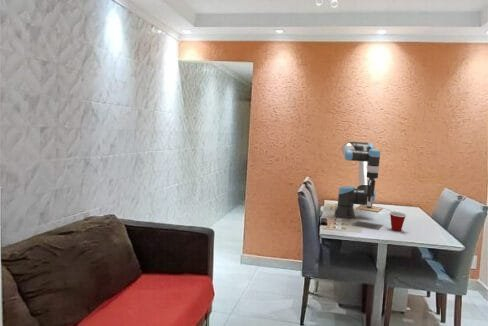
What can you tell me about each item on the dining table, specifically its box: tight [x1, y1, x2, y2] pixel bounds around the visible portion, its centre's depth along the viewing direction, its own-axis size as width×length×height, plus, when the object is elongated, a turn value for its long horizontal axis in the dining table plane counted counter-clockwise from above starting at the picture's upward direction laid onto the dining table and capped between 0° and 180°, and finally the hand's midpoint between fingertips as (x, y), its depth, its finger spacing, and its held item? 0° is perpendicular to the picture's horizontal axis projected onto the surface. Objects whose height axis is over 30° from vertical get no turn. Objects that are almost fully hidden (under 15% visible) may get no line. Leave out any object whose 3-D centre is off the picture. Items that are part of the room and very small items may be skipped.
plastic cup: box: [389, 211, 407, 232], centre depth 282 cm, size 11×11×12 cm
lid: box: [355, 195, 383, 214], centre depth 291 cm, size 15×15×10 cm
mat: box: [351, 220, 384, 231], centre depth 292 cm, size 18×18×1 cm
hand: (369, 205), depth 291 cm, fingers closed on lid, 3 cm apart
